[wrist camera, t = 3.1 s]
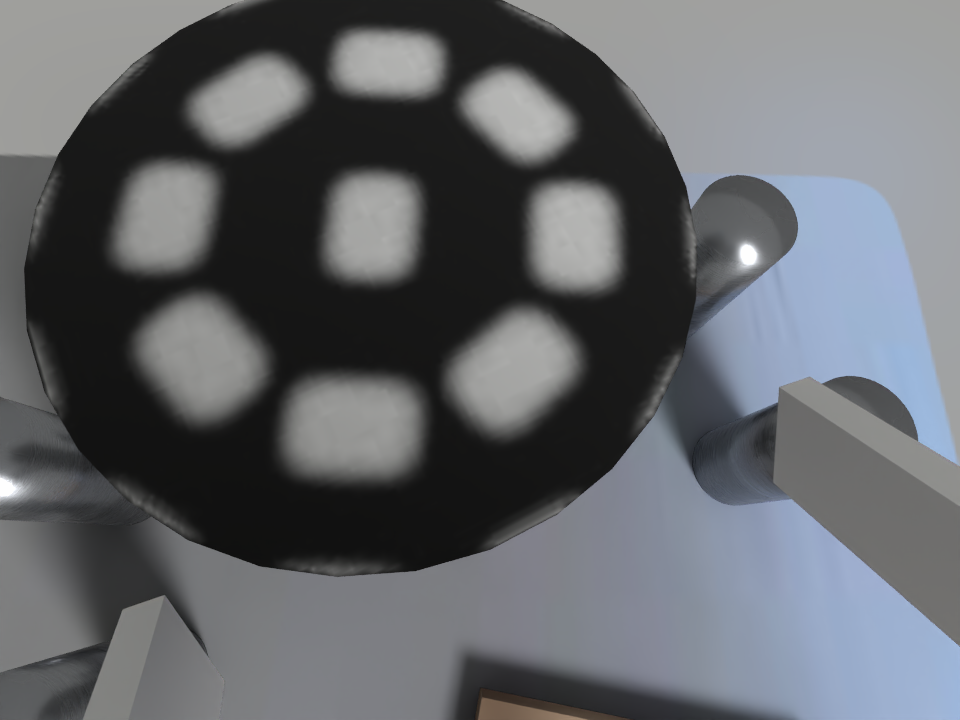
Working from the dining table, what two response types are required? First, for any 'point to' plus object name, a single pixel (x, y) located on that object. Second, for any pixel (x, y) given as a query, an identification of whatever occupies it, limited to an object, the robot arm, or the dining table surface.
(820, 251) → the dining table surface
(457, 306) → the spotted tube
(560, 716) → the square wooden board
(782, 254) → the spacer posts
